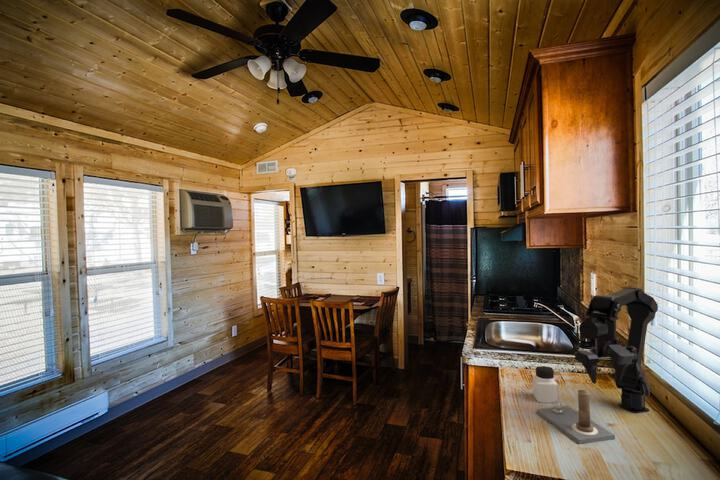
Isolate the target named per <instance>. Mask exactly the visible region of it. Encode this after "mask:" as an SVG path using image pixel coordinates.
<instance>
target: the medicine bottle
mask: <svg viewBox="0 0 720 480" xmlns="http://www.w3.org/2000/svg"><path fill="white" fill-rule="evenodd" d="M554 371H555V370H554V368H552V367H551V366H549V365H538V366H536V367H535V376H532V393H533V396H534V398H535V399H536V401H537V403H541V404H542V403H545V404H546V403H547V404H554V401H559V384H558V382H556V380H555V373H554Z"/></svg>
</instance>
